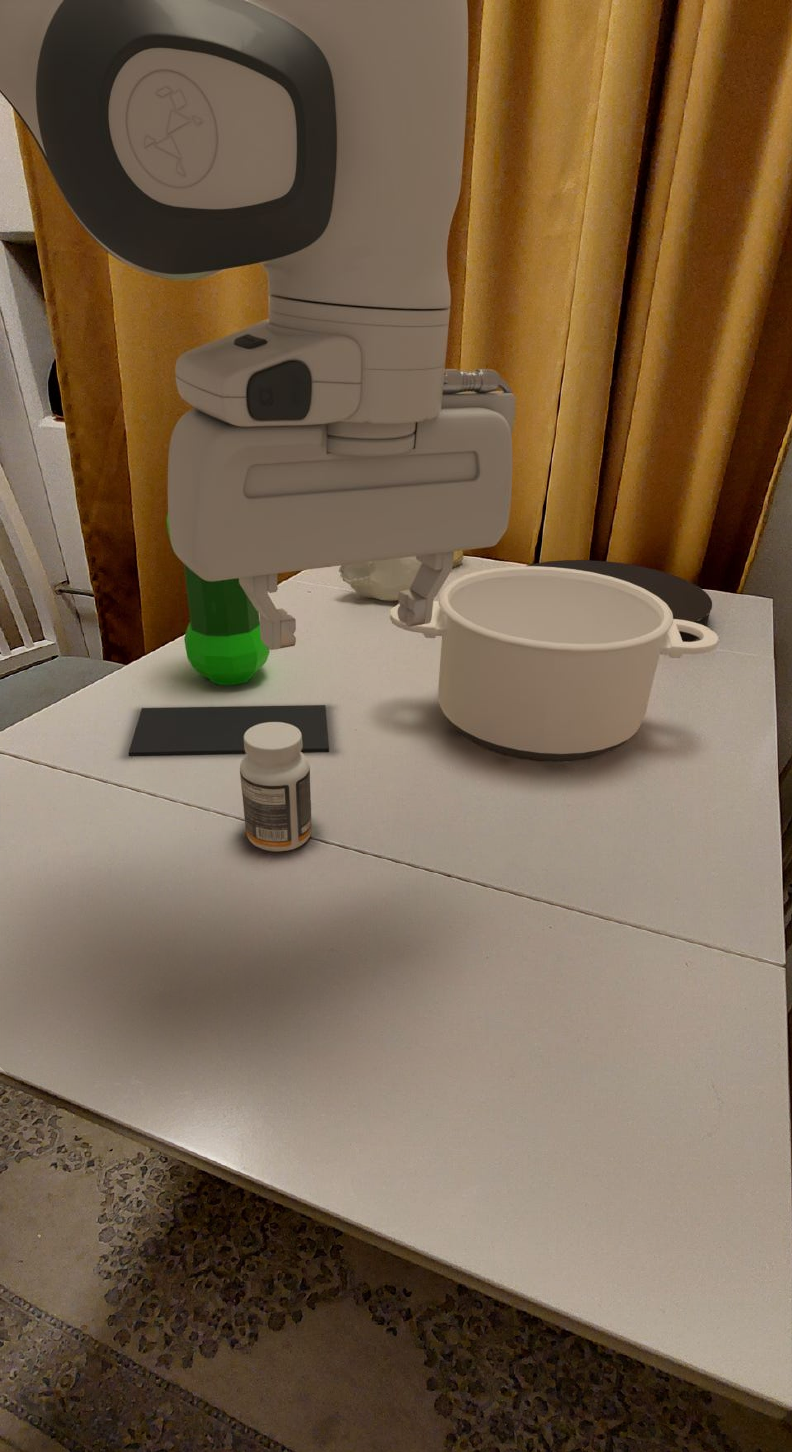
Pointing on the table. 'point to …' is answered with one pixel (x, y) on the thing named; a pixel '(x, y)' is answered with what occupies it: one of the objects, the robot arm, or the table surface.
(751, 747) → the table surface
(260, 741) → the pill bottle
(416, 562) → the white lumpy rounded piece
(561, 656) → the pot
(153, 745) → the slate mat
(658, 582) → the disc
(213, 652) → the plastic bottle
